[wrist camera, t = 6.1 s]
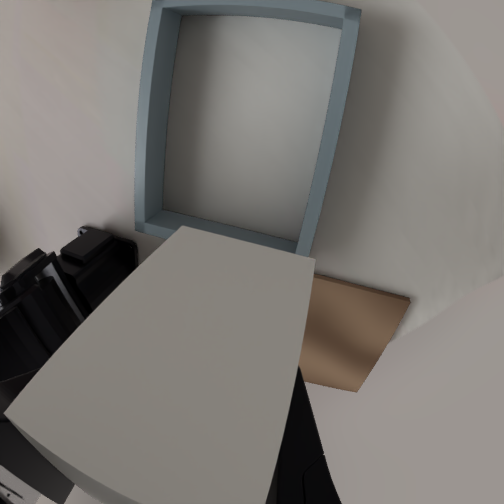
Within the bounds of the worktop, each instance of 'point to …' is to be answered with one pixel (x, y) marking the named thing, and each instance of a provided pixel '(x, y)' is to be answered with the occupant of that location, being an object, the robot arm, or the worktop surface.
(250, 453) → the label carton
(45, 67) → the worktop surface
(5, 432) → the robot arm
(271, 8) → the tray
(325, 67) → the worktop surface
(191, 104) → the worktop surface
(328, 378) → the board
